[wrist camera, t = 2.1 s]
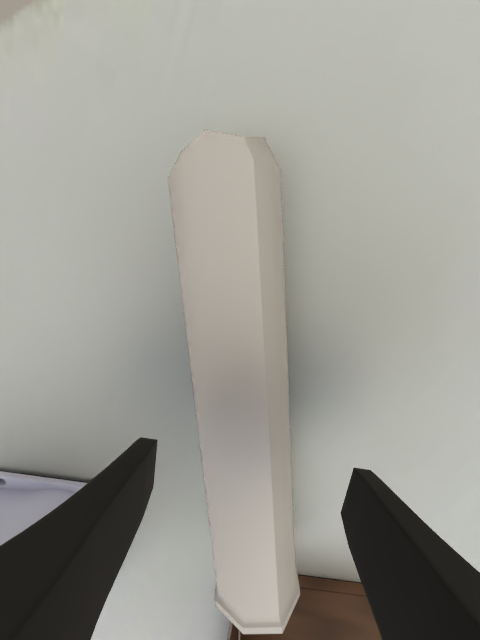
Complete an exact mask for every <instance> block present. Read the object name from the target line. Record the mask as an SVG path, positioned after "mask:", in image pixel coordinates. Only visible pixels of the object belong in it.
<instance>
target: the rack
mask: <svg viewBox="0 0 480 640" xmlns="http://www.w3.org/2000/svg"><path fill="white" fill-rule="evenodd" d="M298 581H299V587H300V596H299V598H298V601H297V603H296V605H295V607H294V609H293V612H292V614H291V616H290V618H289V620H288V623H287V625H286V627H285V629H284V631H283V634H243V633H242V632H241V631H240V630H239V629H238V628H237V627H236V626H235V625H234V624H233V623H232V622H231V624H230V629H229V634H228V640H382V638H381V635H380V632H379V629H378V627H377V624H376V621H375V618H374V616H373V613H372V610H371V607H370V604H369V602H368V599H367V596H366V593H365V591H364V588H363V585H362V583H354V582H347V581H339V580H332V579H324V578H316V577H309V576H301V575H298Z"/></svg>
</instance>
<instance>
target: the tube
mask: <svg viewBox="0 0 480 640" xmlns="http://www.w3.org/2000/svg"><path fill="white" fill-rule="evenodd" d="M168 183H169V192H170V200H171V208H172V217H173V225H174V233H175V242H176V250H177V258H178V266H179V275H180V283H181V291H182V300H183V308H184V316H185V325H186V333H187V341H188V349H189V358H190V366H191V374H192V383H193V391H194V399H195V408H196V416H197V424H198V432H199V441H200V449H201V457H202V466H203V474H204V482H205V491H206V499H207V507H208V515H209V524H210V532H211V540H212V549H213V557H214V565H215V574H216V588H215V599H214V600H215V606H216V607H217V608H218V609H219V610H220V611H221V612H222V613H223V614H224V615H225V616H226V617H227V618H228V619H229V620H230V621H231V622H232V623H233V624H234V625H235V626H236V627H237V628H238V629H239V630H240V631H241V632H242V633H243V634H283V631H284V629H285V627H286V625H287V623H288V620H289V618H290V616H291V614H292V612H293V609H294V607H295V605H296V603H297V601H298V598H299V596H300V587H299V581H298V574H297V568H296V562H295V550H294V522H293V495H292V467H291V440H290V412H289V385H288V357H287V330H286V302H285V275H284V248H283V220H282V193H281V170H280V168H279V166H278V164H277V162H276V160H275V158H274V156H273V153H272V151H271V149H270V147H269V145H268V143H267V141H266V139H265V138H260V137H242V136H237V135H231V134H225V133H220V132H214V131H209V130H204V131H203V132H202V133H201V134H200V135H199V136H197V137H196V138H195V139H194V140H193V141H192V142H191V143H190V144H189V145H188V146H187V147H186V148H185V149H184V150H183V151H182V152H181V153H180V155H179V157H178V159H177V161H176V163H175V164H174V166H173V168H172V170H171V172H170V174H169V176H168Z"/></svg>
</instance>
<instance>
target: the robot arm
mask: <svg viewBox="0 0 480 640" xmlns="http://www.w3.org/2000/svg"><path fill="white" fill-rule="evenodd" d="M156 450H157V440H155V439H148V438H139V439H138V440H136V441H135V442H134V443H133V444H132V445H131V446H130V447H129V448H128V449H127V450H126V451H124V452H123V453H122V454H121V455H120V456H119V457H118V458H117V459H116V460H114V461H113V462H112V463H111V464H110V465H109V466H108V467H106V468H105V469H104V470H103V471H102V472H101V473H99V474H98V475H97V476H96V477H95V478H93V479H92V480H91V481H90V482H89V483H84V482H76V481H69V480H62V479H54V478H47V477H39V476H32V475H25V474H17V473H10V472H3V471H0V640H90V639H91V637H92V634H93V631H94V629H95V626H96V623H97V621H98V618H99V616H100V613H101V611H102V609H103V606H104V604H105V601H106V599H107V597H108V594H109V592H110V590H111V588H112V586H113V583H114V581H115V579H116V577H117V574H118V572H119V570H120V568H121V566H122V563H123V561H124V559H125V557H126V554H127V552H128V550H129V548H130V546H131V543H132V541H133V539H134V537H135V534H136V532H137V530H138V528H139V525H140V523H141V521H142V518H143V516H144V513H145V510H146V507H147V504H148V501H149V498H150V495H151V492H152V489H153V484H154V473H155V461H156ZM341 516H342V520H343V525H344V529H345V533H346V537H347V541H348V545H349V548H350V551H351V554H352V557H353V560H354V563H355V565H356V568H357V571H358V574H359V577H360V580H361V582H362V585H363V588H364V591H365V593H366V596H367V599H368V602H369V604H370V607H371V610H372V613H373V616H374V618H375V621H376V624H377V627H378V629H379V632H380V635H381V638H382V640H480V573H479V572H478V571H477V570H476V569H475V568H474V567H472V566H471V565H470V564H469V563H468V562H467V561H466V560H465V559H463V558H462V557H461V556H460V555H459V554H458V553H457V552H456V551H455V550H453V549H452V548H451V547H450V546H449V545H448V544H447V543H446V542H445V541H444V540H442V539H441V538H440V537H439V536H438V535H437V534H436V533H435V532H434V531H433V530H432V529H431V528H430V527H429V526H428V525H427V524H426V523H424V522H423V521H422V520H421V519H420V518H419V517H418V516H417V515H416V514H415V513H414V512H413V511H412V510H411V509H410V508H409V507H408V506H407V505H406V504H405V503H404V502H403V501H402V500H401V499H400V498H399V497H398V496H397V495H396V494H395V493H394V492H393V491H392V490H391V489H390V488H389V487H388V486H387V485H386V484H385V483H384V482H383V481H382V480H381V479H380V478H378V477H377V476H376V475H375V474H374V473H373V472H372V471H371V470H366V469H359V468H354V469H353V473H352V476H351V479H350V483H349V486H348V490H347V493H346V497H345V500H344V503H343V507H342V510H341Z"/></svg>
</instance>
